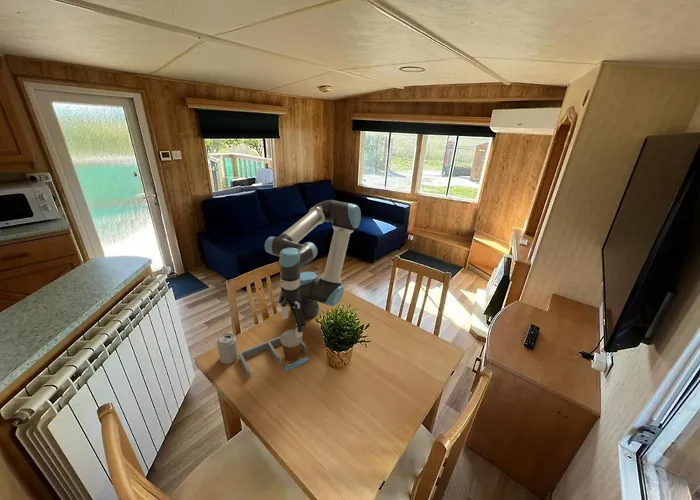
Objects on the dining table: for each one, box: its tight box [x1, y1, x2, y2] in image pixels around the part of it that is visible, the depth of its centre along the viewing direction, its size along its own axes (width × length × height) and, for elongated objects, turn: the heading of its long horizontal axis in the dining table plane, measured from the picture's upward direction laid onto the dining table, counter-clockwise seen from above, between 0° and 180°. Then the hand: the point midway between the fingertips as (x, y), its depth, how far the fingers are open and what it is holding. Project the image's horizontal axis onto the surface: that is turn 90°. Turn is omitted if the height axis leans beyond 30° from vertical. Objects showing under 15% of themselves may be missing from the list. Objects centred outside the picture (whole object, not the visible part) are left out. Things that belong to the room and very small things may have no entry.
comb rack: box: [238, 335, 308, 379], centre depth 126 cm, size 27×12×4 cm, turn 127°
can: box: [216, 332, 239, 364], centre depth 121 cm, size 8×8×12 cm
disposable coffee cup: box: [280, 329, 303, 363], centre depth 125 cm, size 10×10×12 cm
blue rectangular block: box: [283, 356, 310, 372], centre depth 123 cm, size 11×2×1 cm, turn 127°
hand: (291, 327), depth 120 cm, fingers open, 13 cm apart
